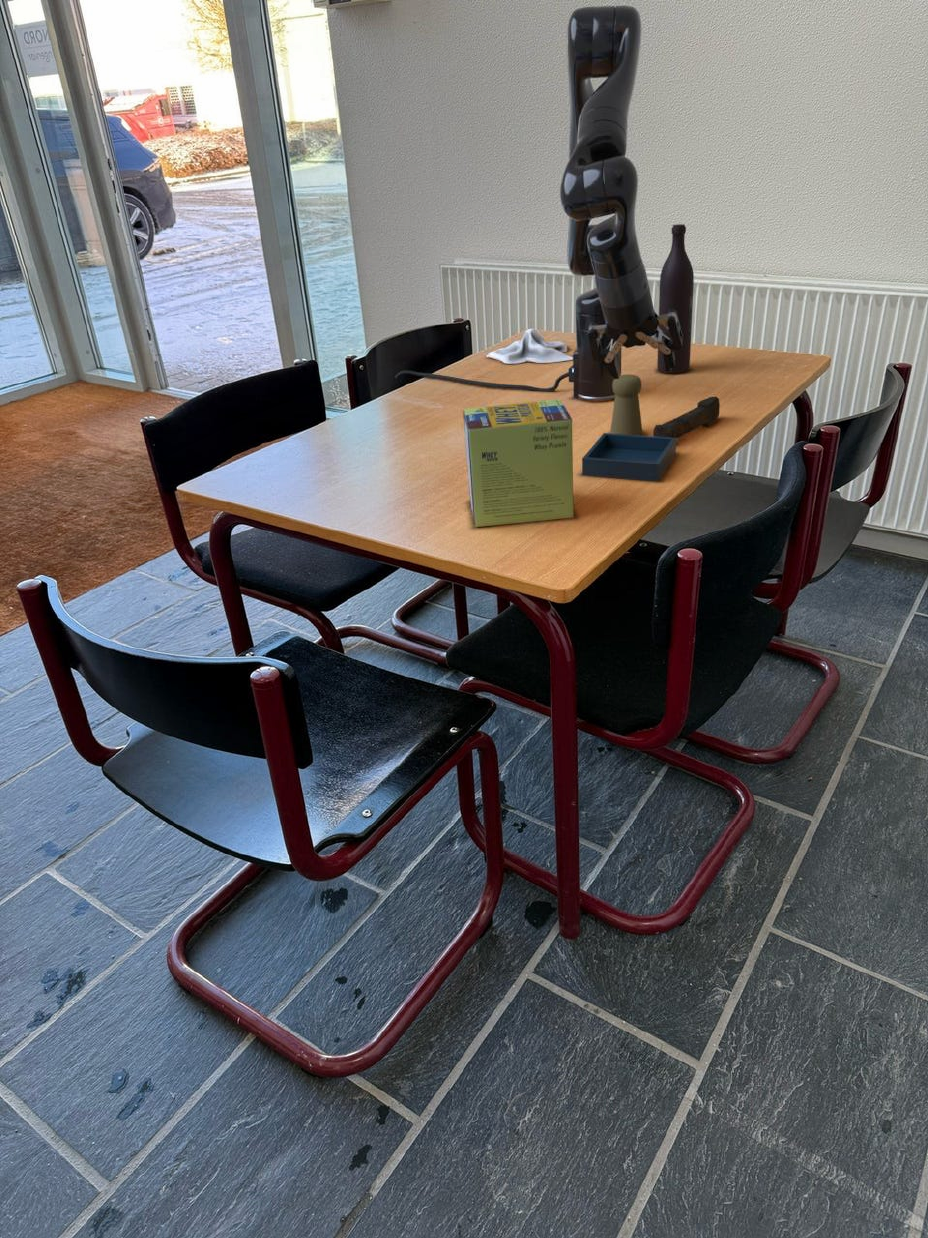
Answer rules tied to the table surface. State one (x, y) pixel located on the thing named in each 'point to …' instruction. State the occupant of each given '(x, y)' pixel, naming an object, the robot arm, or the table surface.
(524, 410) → the protein box
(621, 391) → the cork
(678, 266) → the wine bottle
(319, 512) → the table surface
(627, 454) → the caddy
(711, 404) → the rusty railroad spike
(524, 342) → the cloth
